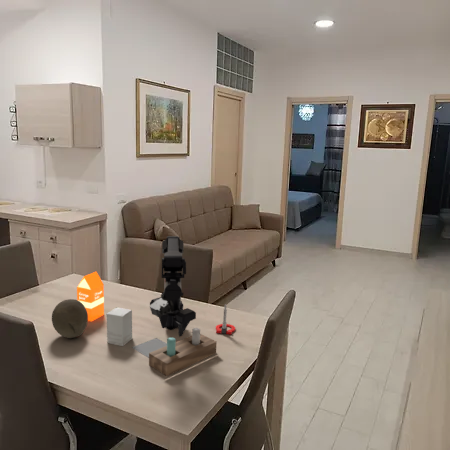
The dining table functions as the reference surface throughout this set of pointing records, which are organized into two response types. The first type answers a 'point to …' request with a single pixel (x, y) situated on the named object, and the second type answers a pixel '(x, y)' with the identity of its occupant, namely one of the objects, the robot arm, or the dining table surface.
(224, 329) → the tow hook
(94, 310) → the orange juice
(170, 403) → the dining table surface
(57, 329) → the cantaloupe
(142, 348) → the mat
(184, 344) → the hole block
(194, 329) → the grey peg
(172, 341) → the teal peg
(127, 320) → the supplement box
